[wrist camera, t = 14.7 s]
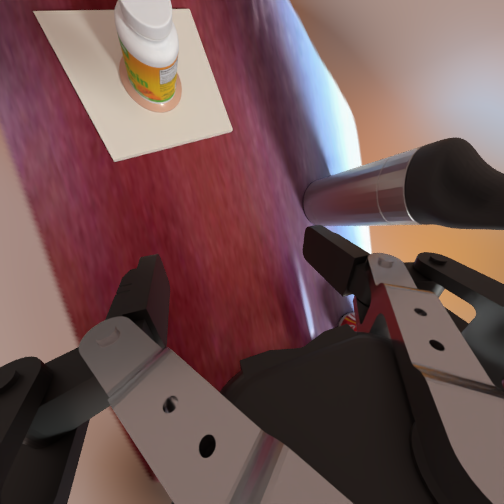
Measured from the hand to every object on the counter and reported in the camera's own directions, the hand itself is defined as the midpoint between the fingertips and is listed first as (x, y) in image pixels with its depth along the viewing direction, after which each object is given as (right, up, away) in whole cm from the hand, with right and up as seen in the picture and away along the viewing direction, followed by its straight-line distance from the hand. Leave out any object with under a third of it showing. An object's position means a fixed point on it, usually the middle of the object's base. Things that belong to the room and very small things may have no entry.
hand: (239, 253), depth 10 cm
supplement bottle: (-12, +22, +14) cm, 28 cm away
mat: (-12, +22, +14) cm, 29 cm away
